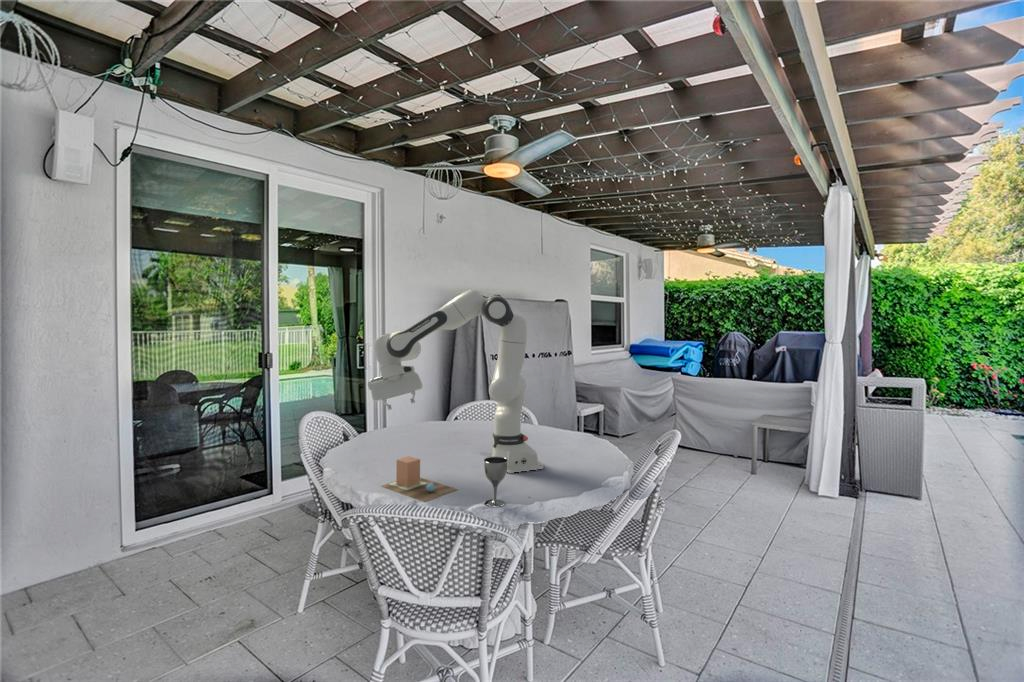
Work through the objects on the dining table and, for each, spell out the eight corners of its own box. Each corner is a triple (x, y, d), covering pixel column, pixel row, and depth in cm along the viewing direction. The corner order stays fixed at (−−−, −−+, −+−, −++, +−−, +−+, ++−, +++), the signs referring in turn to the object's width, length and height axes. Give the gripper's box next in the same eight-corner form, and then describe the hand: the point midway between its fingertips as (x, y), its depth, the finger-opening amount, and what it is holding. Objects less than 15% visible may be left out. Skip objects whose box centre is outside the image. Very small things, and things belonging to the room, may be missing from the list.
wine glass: (507, 507, 171) (508, 463, 170) (483, 508, 170) (484, 463, 170) (506, 499, 179) (506, 456, 178) (483, 499, 178) (483, 456, 178)
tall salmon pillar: (409, 479, 194) (409, 456, 193) (419, 483, 190) (420, 459, 189) (396, 483, 189) (396, 459, 188) (407, 487, 185) (407, 462, 185)
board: (458, 492, 185) (458, 489, 185) (425, 504, 172) (425, 501, 172) (413, 478, 199) (413, 475, 199) (380, 488, 187) (380, 485, 187)
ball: (434, 489, 184) (434, 481, 184) (435, 492, 181) (435, 484, 181) (426, 490, 183) (426, 482, 183) (426, 493, 180) (426, 484, 180)
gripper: (366, 378, 202) (375, 412, 200) (417, 365, 209) (426, 398, 207) (366, 381, 208) (375, 414, 206) (416, 369, 215) (425, 400, 212)
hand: (401, 406), depth 206 cm, fingers open, 8 cm apart
